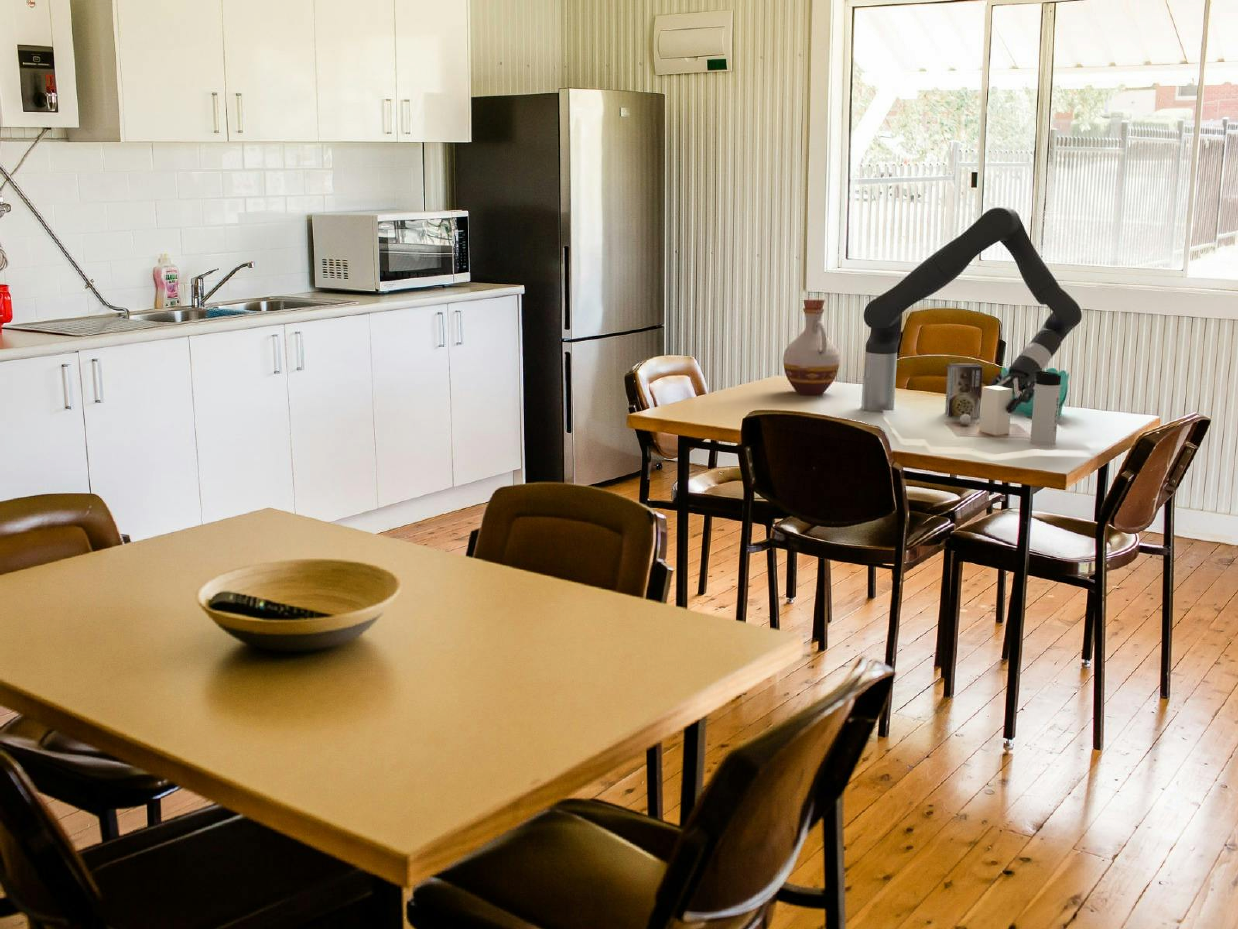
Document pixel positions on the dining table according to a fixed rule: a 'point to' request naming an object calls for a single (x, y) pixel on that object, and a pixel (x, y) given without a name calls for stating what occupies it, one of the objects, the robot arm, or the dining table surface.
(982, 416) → the cream tall block
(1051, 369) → the basket
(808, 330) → the jug
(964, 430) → the board
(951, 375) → the coffee box
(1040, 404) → the travel mug
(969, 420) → the grey ball
